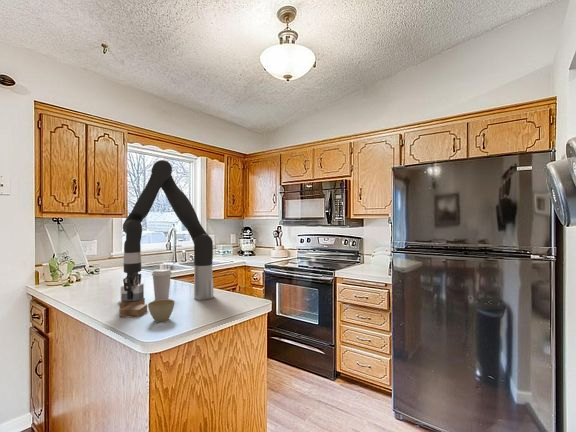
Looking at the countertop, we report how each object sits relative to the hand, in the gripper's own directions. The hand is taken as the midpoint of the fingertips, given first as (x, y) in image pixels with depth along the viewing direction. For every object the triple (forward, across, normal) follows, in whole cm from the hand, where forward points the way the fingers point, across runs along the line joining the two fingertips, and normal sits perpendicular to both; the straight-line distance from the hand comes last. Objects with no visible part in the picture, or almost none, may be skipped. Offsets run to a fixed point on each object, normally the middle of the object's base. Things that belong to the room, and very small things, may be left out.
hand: (132, 297), depth 147 cm
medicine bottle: (+4, +14, +7) cm, 16 cm away
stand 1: (+4, 0, 0) cm, 4 cm away
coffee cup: (+4, +13, -9) cm, 16 cm away
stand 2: (+4, -12, -6) cm, 14 cm away
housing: (+1, 0, 0) cm, 1 cm away
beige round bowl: (+4, -21, -21) cm, 30 cm away
